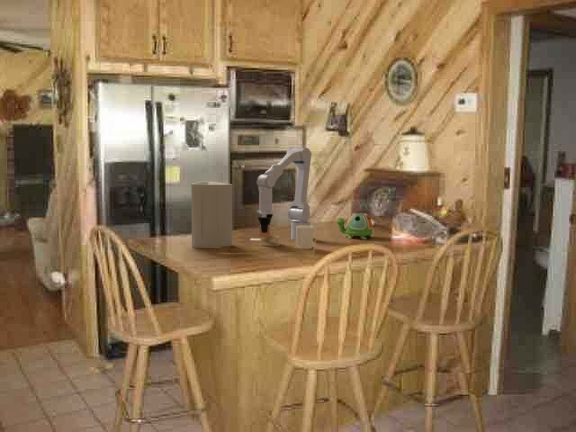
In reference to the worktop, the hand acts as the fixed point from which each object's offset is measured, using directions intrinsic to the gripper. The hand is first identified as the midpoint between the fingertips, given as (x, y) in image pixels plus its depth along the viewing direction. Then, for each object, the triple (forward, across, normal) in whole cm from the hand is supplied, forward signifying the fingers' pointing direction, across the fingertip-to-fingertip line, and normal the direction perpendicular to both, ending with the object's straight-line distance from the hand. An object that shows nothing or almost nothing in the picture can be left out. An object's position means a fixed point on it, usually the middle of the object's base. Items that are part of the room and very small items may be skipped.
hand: (265, 231), depth 269 cm
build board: (+7, -6, 0) cm, 9 cm away
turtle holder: (+7, -29, +42) cm, 52 cm away
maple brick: (+6, 0, +2) cm, 6 cm away
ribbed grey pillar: (+7, +3, -26) cm, 27 cm away
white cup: (+7, +5, +18) cm, 20 cm away
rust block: (+2, 0, 0) cm, 2 cm away
